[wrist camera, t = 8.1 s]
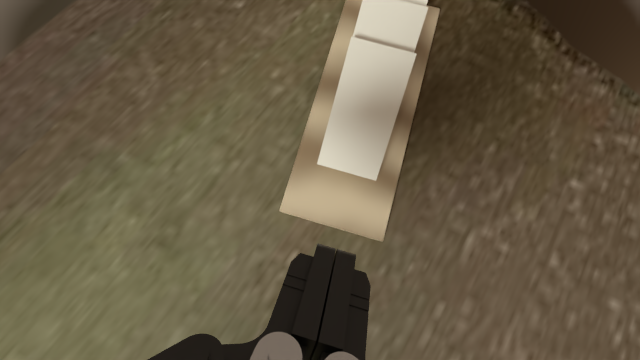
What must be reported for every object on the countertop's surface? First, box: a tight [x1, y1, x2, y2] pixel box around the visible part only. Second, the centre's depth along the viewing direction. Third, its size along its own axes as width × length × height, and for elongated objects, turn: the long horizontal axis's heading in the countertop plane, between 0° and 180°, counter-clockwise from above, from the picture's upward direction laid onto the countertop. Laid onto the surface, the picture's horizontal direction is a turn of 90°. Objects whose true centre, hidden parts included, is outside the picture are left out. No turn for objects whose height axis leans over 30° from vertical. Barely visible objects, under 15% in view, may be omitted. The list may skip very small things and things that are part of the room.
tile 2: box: [353, 0, 428, 53], centre depth 25 cm, size 2×5×10 cm
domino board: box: [279, 0, 440, 241], centre depth 28 cm, size 23×9×1 cm, turn 164°
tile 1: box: [317, 36, 417, 181], centre depth 25 cm, size 2×5×10 cm
